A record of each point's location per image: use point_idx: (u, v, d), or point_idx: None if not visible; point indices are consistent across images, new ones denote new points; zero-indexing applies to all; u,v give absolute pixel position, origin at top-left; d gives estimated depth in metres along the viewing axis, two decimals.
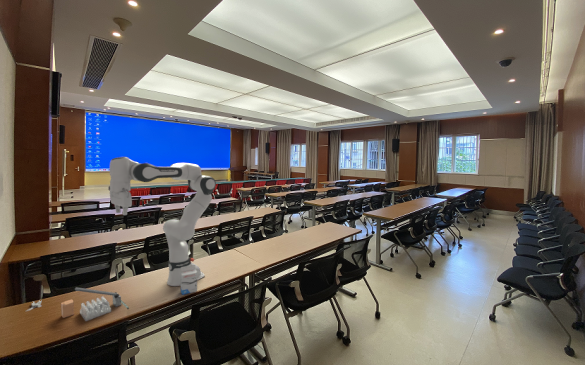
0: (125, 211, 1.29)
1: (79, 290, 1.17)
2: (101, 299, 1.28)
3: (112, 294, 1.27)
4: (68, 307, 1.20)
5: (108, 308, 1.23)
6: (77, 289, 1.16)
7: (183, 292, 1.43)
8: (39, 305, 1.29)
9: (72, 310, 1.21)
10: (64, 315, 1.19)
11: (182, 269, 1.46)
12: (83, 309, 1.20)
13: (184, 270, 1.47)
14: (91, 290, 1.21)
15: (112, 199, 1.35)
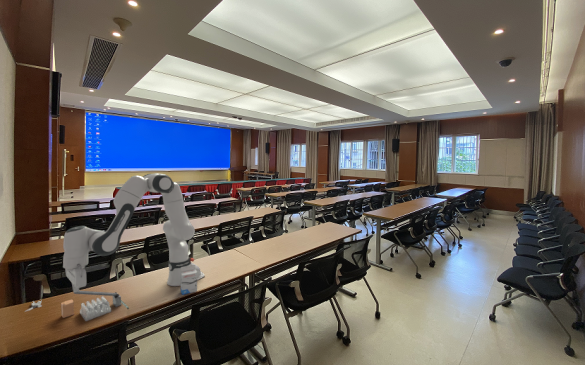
0: (77, 287, 1.16)
1: (77, 293, 1.16)
2: (101, 299, 1.28)
3: (112, 294, 1.27)
4: (68, 307, 1.20)
5: (108, 308, 1.23)
6: (75, 292, 1.16)
7: (183, 292, 1.43)
8: (39, 305, 1.29)
9: (72, 310, 1.21)
10: (64, 315, 1.19)
11: (182, 269, 1.46)
12: (83, 309, 1.20)
13: (184, 270, 1.47)
14: (90, 292, 1.21)
15: (67, 272, 1.19)
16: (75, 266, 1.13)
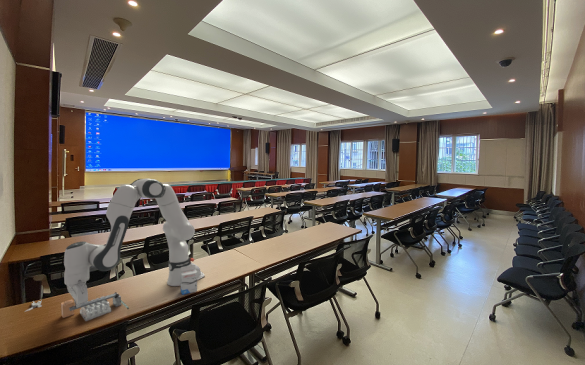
0: None
1: (74, 309, 1.16)
2: None
3: (111, 296, 1.27)
4: (68, 307, 1.20)
5: (108, 308, 1.23)
6: (71, 309, 1.15)
7: (183, 292, 1.43)
8: (39, 305, 1.29)
9: (72, 310, 1.21)
10: (64, 315, 1.19)
11: (182, 269, 1.46)
12: (83, 309, 1.20)
13: (184, 270, 1.47)
14: (87, 303, 1.20)
15: (68, 288, 1.20)
16: (76, 282, 1.13)
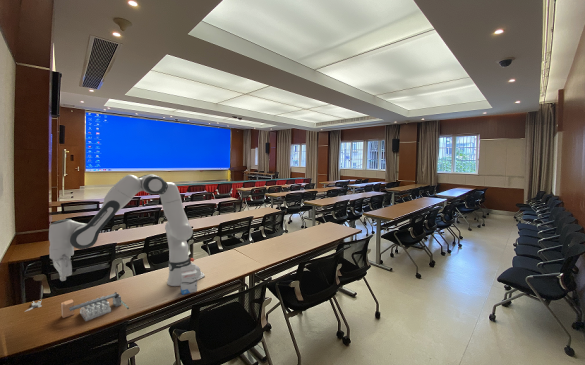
0: (63, 277, 1.22)
1: (74, 309, 1.16)
2: None
3: (111, 296, 1.27)
4: (68, 307, 1.20)
5: (108, 308, 1.23)
6: (71, 309, 1.15)
7: (183, 292, 1.43)
8: (39, 305, 1.29)
9: (72, 310, 1.21)
10: (64, 315, 1.19)
11: (182, 269, 1.46)
12: (83, 309, 1.20)
13: (184, 270, 1.47)
14: (87, 303, 1.20)
15: (54, 263, 1.26)
16: (61, 256, 1.19)
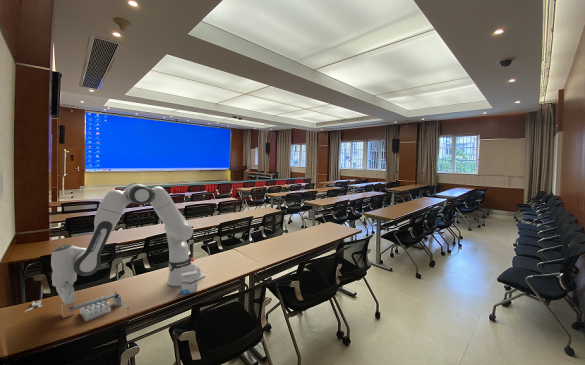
0: None
1: (74, 309, 1.16)
2: None
3: (111, 296, 1.27)
4: (68, 307, 1.19)
5: (108, 308, 1.23)
6: (71, 309, 1.15)
7: (183, 292, 1.43)
8: (39, 305, 1.29)
9: (72, 310, 1.21)
10: (64, 315, 1.18)
11: (182, 269, 1.46)
12: (83, 309, 1.20)
13: (184, 270, 1.47)
14: (87, 303, 1.20)
15: (57, 289, 1.25)
16: (63, 284, 1.19)
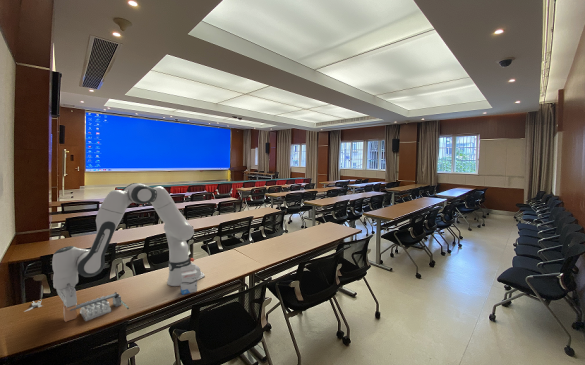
0: None
1: (74, 309, 1.16)
2: None
3: (111, 296, 1.27)
4: (70, 311, 1.17)
5: (108, 308, 1.23)
6: (71, 309, 1.15)
7: (183, 292, 1.43)
8: (39, 305, 1.29)
9: (74, 314, 1.18)
10: (66, 319, 1.16)
11: (182, 269, 1.46)
12: (83, 309, 1.20)
13: (184, 270, 1.47)
14: (87, 303, 1.20)
15: (58, 291, 1.23)
16: (65, 286, 1.16)
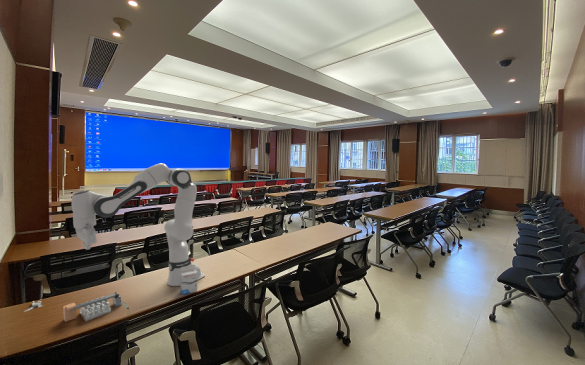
0: (88, 245, 1.27)
1: (74, 309, 1.16)
2: None
3: (111, 296, 1.27)
4: (70, 311, 1.17)
5: (108, 308, 1.23)
6: (71, 309, 1.15)
7: (183, 292, 1.43)
8: (39, 305, 1.29)
9: (74, 314, 1.18)
10: (66, 319, 1.16)
11: (182, 269, 1.46)
12: (83, 309, 1.20)
13: (184, 270, 1.47)
14: (87, 303, 1.20)
15: (78, 233, 1.31)
16: (84, 226, 1.24)
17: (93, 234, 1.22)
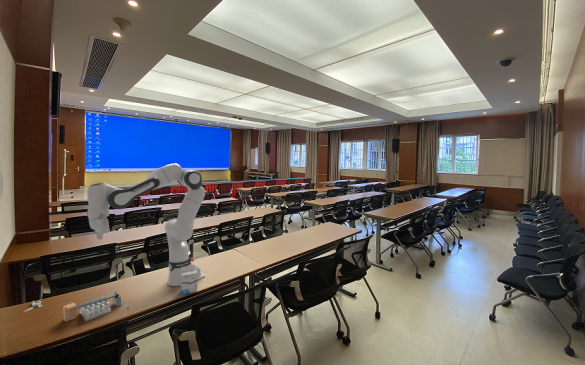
0: (100, 235, 1.32)
1: (74, 309, 1.16)
2: None
3: (111, 296, 1.27)
4: (70, 311, 1.17)
5: (108, 308, 1.23)
6: (71, 309, 1.15)
7: (183, 292, 1.43)
8: (39, 304, 1.29)
9: (74, 314, 1.18)
10: (66, 319, 1.16)
11: (182, 269, 1.46)
12: (83, 309, 1.20)
13: (184, 270, 1.47)
14: (87, 303, 1.20)
15: (91, 224, 1.36)
16: (98, 216, 1.29)
17: (106, 224, 1.28)
